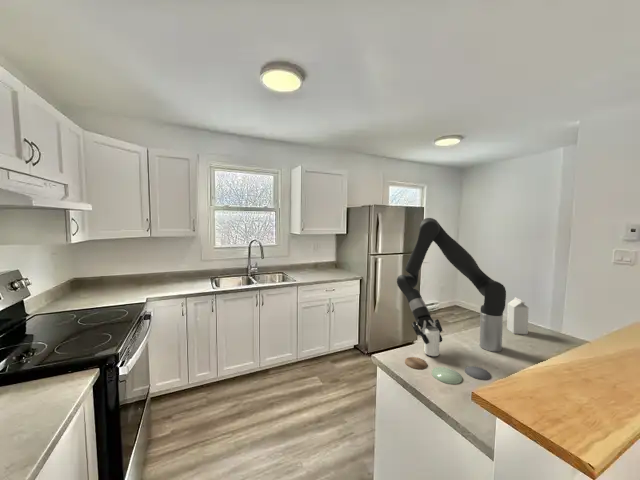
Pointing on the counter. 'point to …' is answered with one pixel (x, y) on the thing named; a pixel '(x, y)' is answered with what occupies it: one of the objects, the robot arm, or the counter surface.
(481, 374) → the charcoal coaster
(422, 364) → the walnut coaster
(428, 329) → the can
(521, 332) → the milk carton
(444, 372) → the sage coaster
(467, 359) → the counter surface
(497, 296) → the robot arm
